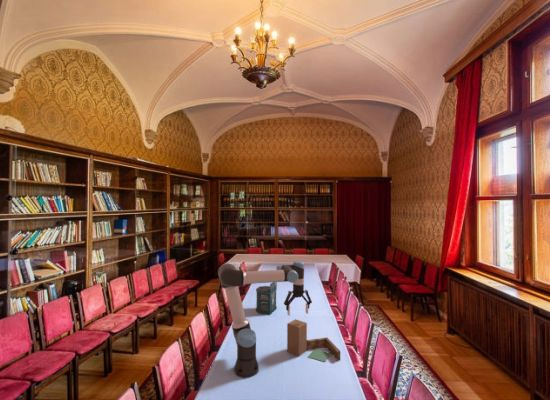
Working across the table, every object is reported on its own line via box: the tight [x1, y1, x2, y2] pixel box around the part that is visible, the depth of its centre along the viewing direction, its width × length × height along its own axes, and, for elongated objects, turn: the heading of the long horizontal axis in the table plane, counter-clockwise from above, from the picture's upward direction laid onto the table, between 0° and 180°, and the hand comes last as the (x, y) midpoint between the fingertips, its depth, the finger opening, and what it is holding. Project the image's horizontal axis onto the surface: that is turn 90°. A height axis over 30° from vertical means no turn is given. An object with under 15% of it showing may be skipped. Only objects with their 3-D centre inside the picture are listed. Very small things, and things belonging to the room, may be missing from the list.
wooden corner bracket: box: [307, 337, 341, 361], centre depth 206 cm, size 16×20×6 cm
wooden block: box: [286, 318, 308, 357], centre depth 209 cm, size 10×10×20 cm
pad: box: [307, 348, 332, 363], centre depth 204 cm, size 12×12×1 cm
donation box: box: [255, 282, 278, 316], centre depth 283 cm, size 16×16×28 cm
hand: (297, 314), depth 209 cm, fingers open, 13 cm apart
